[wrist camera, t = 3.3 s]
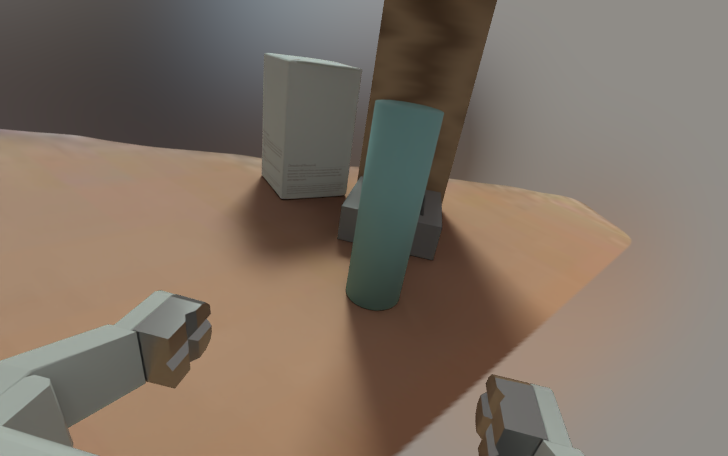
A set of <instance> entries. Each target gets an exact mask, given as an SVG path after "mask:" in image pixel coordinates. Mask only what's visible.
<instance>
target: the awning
mask: <svg viewBox="0 0 728 456" xmlns="http://www.w3.org/2000/svg"><path fill="white" fill-rule="evenodd" d="M496 2H497V0H385V1H384V7H383V14H382V20H381V27H380V34H379V40H378V47H377V54H376V61H375V68H374V74H373V80H372V88H371V95H370V101H369V107H368V114H367V121H366V127H365V134H364V141H363V148H362V154H361V161H360V167H359V174H358V180H359V178H360V177H361V176H364V170H365V164H366V157H367V151H368V144H369V138H370V132H371V125H372V119H373V112H374V106H375V101H376V100H396V101H404V102H410V103H415V104H420V105H425V106H429V107H432V108H435V109H438V110H441V111H443V112H444V116H443V120H442V125H441V129H440V133H439V137H438V141H437V145H436V149H435V153H434V157H433V161H432V166H431V170H430V174H429V178H428V182H427V186H426V190H431V191H436V192H440V193H441V205H442V201H443V198H444V194H445V190H446V187H447V183H448V179H449V175H450V172H451V168H452V165H453V161H454V157H455V153H456V150H457V146H458V142H459V139H460V134H461V131H462V128H463V124H464V120H465V116H466V113H467V109H468V106H469V102H470V98H471V94H472V91H473V87H474V83H475V80H476V76H477V72H478V69H479V65H480V61H481V58H482V54H483V50H484V46H485V43H486V39H487V35H488V31H489V28H490V24H491V21H492V17H493V13H494V9H495V6H496Z"/></svg>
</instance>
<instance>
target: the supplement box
mask: <svg viewBox="0 0 728 456" xmlns="http://www.w3.org/2000/svg"><path fill="white" fill-rule="evenodd" d="M361 74H362V69H359V68H355V67H351V66H348V65H344V64H340V63H336V62H331V61H326V60H319V59H313V58H306V57H298V56H289V55H281V54H272V53H265V54H264V81H263V143H262V176H263V177H264V178H265V179H266V180H267V182H268V183H269V184H270V185H271V187H272V188H273V189H274V190H275V192H276V193H277V194H278V195H279V197H280V198H281V199H297V198H312V197H328V196H342V195H345V194H346V189H347V182H348V175H349V167H350V158H351V151H352V143H353V135H354V128H355V120H356V112H357V104H358V97H359V89H360V82H361Z"/></svg>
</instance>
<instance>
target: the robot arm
mask: <svg viewBox="0 0 728 456" xmlns="http://www.w3.org/2000/svg"><path fill="white" fill-rule="evenodd" d="M210 314H211V311H210V305H209V304H208V303H206V302H202V301H198V300H195V299H191V298H188V297H184V296H181V295H177V294H172V293H169V292H165V291H161V290H160V291H156V292H154V293H153V294H151V295H150V296H149V297H148V298H146V299H145V300H144V301H143V302H142V303H140V304H139V305H138V306H137V307H135V308H134V309H133V310H132V311H131V312H129V313H128V314H127V315H126V316H124V317H123V318H122V319H121V320H120V321H118V322H117V323H116V324H115V325H109V324H108V325H105V326H102V327H99V328H96V329H93V330H90V331H87V332H84V333H81V334H78V335H75V336H72V337H69V338H66V339H63V340H60V341H57V342H55V343H52V344H49V345H46V346H43V347H40V348H37V349H34V350H31V351H28V352H25V353H22V354H19V355H16V356H13V357H10V358H7V359H4V360H1V361H0V456H98V455H95V454H92V453H89V452H85V451H82V450H79V449H76V448H73V441H72V438H71V436H70V433H69V430H68V428H69V427H71V426H72V425H74V424H76V423H77V422H79V421H81V420H83V419H84V418H86V417H88V416H90V415H91V414H93V413H95V412H97V411H98V410H100V409H102V408H104V407H105V406H107V405H109V404H110V403H112V402H114V401H116V400H117V399H119V398H121V397H123V396H124V395H126V394H128V393H130V392H131V391H133V390H135V389H137V388H138V387H140V386H142V385H143V384H145V383H146V382H150V383H154V384H159V385H163V386H167V387H171V388H176V387H177V385H178V384H179V383H180V382H181V380H182V379H183V378H184V377H185V375H186V374H187V373H188V372H189V370H190V362H191V361H193V360H195V359H197V358H200V357H201V355H202V354H203V353H204V351H205V350H206V348H207V346H208V344H209V342H210V339H211V333H212V326H211V324H210V323H209V321H208V320H207V318H208V316H209V315H210ZM486 388H487V392H486V393H484V394H482V395H481V396H480V398H479V401H478V403H477V409H476V431H477V433H478V434H479V436H480V437H481V439H482V441H481V443H480V445H479V447H478V452H479V456H585V455H584V454H583V453H582V452H581V451H580V450H579V449H576V448H573V447H572V444H571V441H570V438H569V435H568V433H567V430H566V427H565V424H564V422H563V419H562V416H561V413H560V410H559V408H558V405H557V402H556V399H555V396H554V393H553V391H552V390H551V389H550V388H547V387H543V386H539V385H535V384H529V383H526V382H522V381H518V380H514V379H509V378H505V377H501V376H497V375H493V374H492V375H491V376H490V377H489V378H488V380H487V382H486Z"/></svg>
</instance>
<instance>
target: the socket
mask: <svg viewBox="0 0 728 456" xmlns="http://www.w3.org/2000/svg"><path fill="white" fill-rule="evenodd" d="M362 183H363V176H361V177H360V178H359V180H358V181H357V183H356V185H355V186H354V188H353V189H352V191H351V192H350V194H349V195H348V197H347V198H346V200H345V201H344V203H343V205H342V207H341V215H340V222H339V230H338V237H337V239H341V240H345V241H350V242H353V240H354V234H355V227H356V221H357V215H358V208H359V202H360V195H361V189H362ZM441 230H442V205H441V193H440V192H436V191H431V190H425V194H424V198H423V202H422V207H421V211H420V215H419V219H418V223H417V227H416V231H415V235H414V239H413V243H412V247H411V252H410V255H412V256H416V257H421V258H425V259H429V260H433V258H434V255H435V251H436V248H437V244H438V240H439V237H440V233H441Z"/></svg>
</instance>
